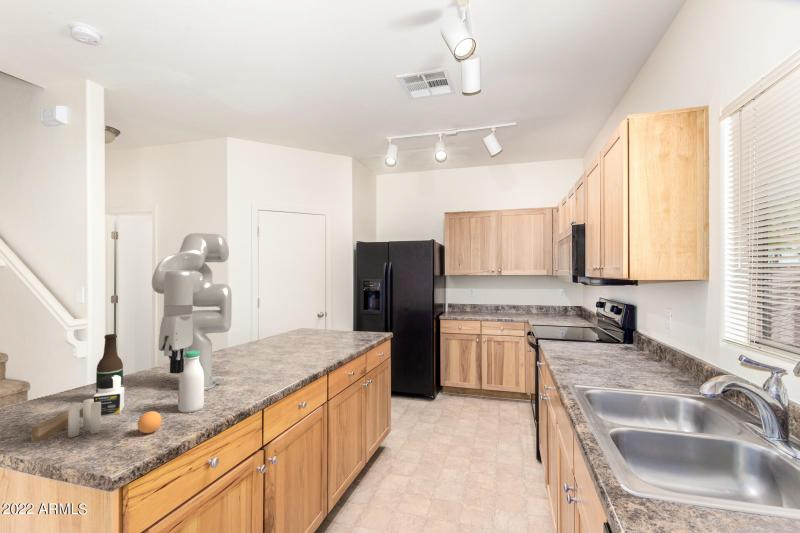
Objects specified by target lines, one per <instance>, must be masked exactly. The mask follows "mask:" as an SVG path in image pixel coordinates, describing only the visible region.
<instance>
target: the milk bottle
mask: <svg viewBox="0 0 800 533" xmlns="http://www.w3.org/2000/svg"><path fill="white" fill-rule="evenodd" d="M199 355H200V352H199V351H196V350H193V351H187V352H186V353H185V358H184V371H183V372H182V373H179V376H178V394H177V395H178V396H177V397H178V400H177V401H178V402H177V404H178V405H177V406H178V408H177V409H178V412H180V413H194V412H197V411H200V410H202V409H203V408H204V404H205V390H204V372H203V369H202V367H201V365H200V362H199Z"/></svg>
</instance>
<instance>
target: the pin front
mask: <svg viewBox="0 0 800 533" xmlns="http://www.w3.org/2000/svg"><path fill="white" fill-rule="evenodd" d="M101 420H102V416H101V402H94V403H91V416H90V429H89V430H90V431H89V434H92V435H93V434H98V433H100V432H101V431H102V430H101V427H102V426H101V425H102V421H101Z"/></svg>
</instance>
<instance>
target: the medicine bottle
mask: <svg viewBox="0 0 800 533" xmlns="http://www.w3.org/2000/svg"><path fill="white" fill-rule="evenodd" d="M93 399H94V402H101V417H105V416H104V415H107V416H113V415H112V414H114V415H120V414H121V412H122V410H123V409H124V407H125V387H124V386H123V387H121V377H120V376H118V375H110V376H105V377H102V378H100V379H99V380H98V392H97V393H96V392H95V394H94V395H93ZM119 413H120V414H119Z"/></svg>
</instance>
